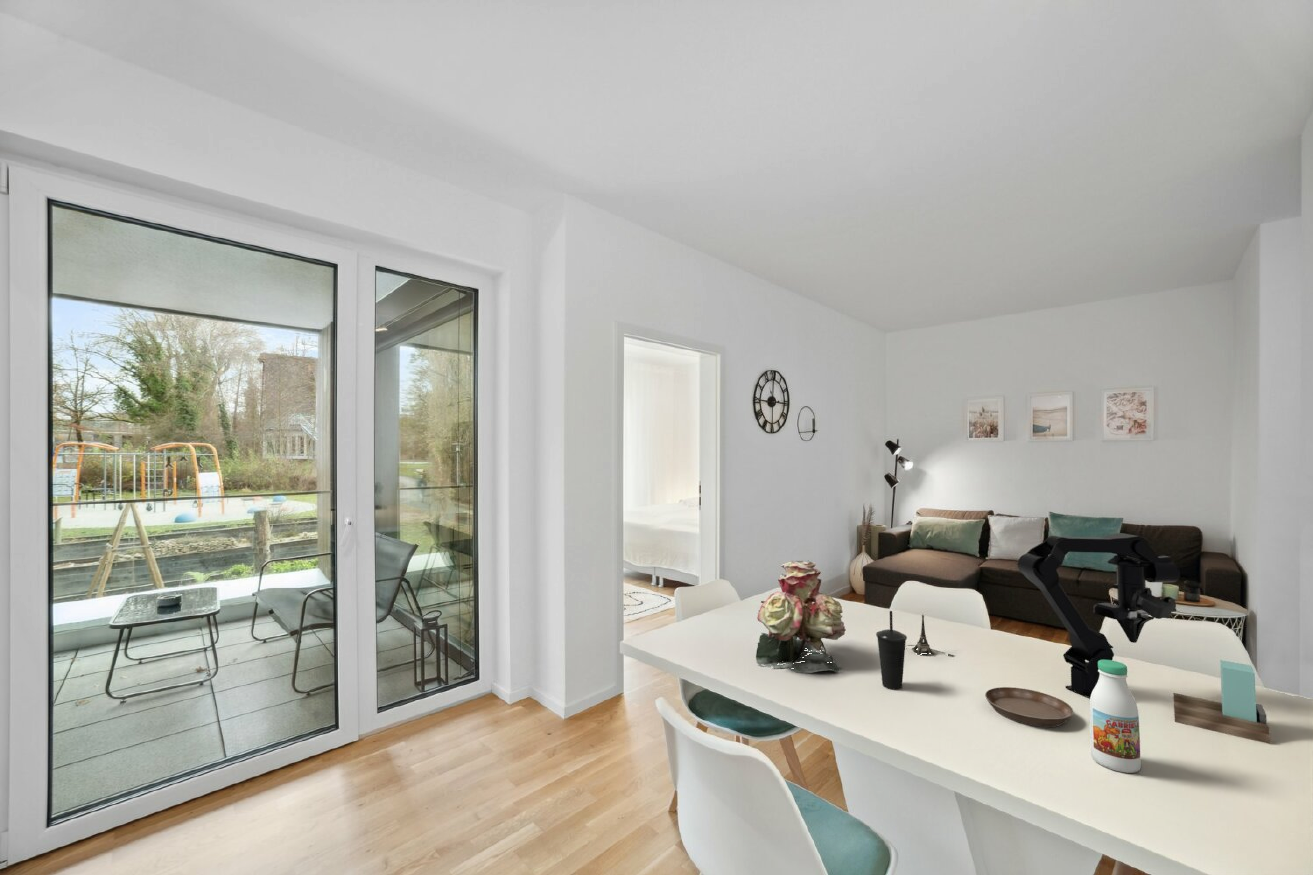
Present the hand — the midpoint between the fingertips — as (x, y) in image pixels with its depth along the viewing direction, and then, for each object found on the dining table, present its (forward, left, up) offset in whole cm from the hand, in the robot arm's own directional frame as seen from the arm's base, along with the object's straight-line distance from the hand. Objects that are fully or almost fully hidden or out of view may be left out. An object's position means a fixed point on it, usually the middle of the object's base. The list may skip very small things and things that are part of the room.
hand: (1133, 642), depth 144 cm
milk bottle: (-39, -25, -13) cm, 48 cm away
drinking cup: (-59, +18, -13) cm, 63 cm away
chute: (+2, -17, -13) cm, 21 cm away
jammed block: (+4, -20, -11) cm, 23 cm away
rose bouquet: (-73, +42, -13) cm, 85 cm away
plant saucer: (-37, -3, -14) cm, 39 cm away
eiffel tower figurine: (-33, +38, -14) cm, 52 cm away
